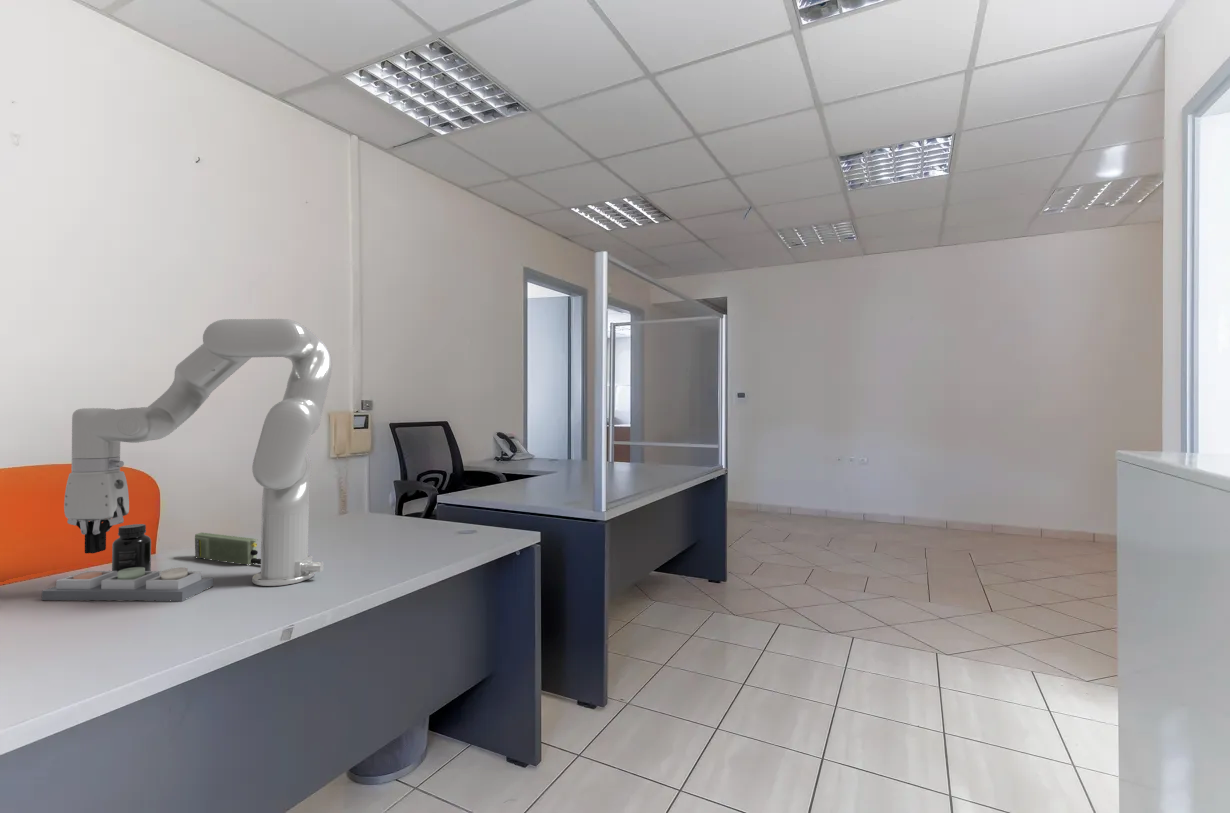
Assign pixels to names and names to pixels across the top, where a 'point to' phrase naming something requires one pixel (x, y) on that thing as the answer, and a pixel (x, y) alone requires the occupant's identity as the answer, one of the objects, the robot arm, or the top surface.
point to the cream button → (174, 573)
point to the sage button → (131, 573)
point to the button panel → (127, 587)
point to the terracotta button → (87, 575)
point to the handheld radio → (226, 548)
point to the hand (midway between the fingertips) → (95, 551)
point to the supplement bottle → (131, 548)
